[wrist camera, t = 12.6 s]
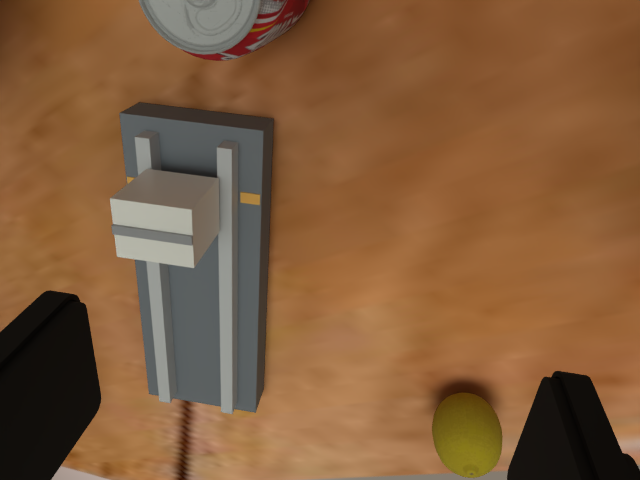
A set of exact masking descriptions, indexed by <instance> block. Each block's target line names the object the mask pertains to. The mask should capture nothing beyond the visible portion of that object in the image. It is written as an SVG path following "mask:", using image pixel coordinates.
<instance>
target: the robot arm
mask: <svg viewBox="0 0 640 480" xmlns="http://www.w3.org/2000/svg"><path fill="white" fill-rule="evenodd" d="M100 403H101V392H100V386H99V380H98V374H97V368H96V362H95V356H94V350H93V344H92V338H91V332H90V326H89V320H88V314H87V308H86V305H85V304H84V303H81V302H80V300H79V298H78V296H77V295H74V294H69V293H63V292H56V291H46V292H44V293H43V294H41V295H40V296H39V297H38V298H37V299H36V300H35V301H34V302H33V303H32V304H31V305H29V306H28V307H27V308H26V309H25V310H24V311H23V312H22V313H21V314H20V315H19V316H17V317H16V318H15V319H14V320H13V321H12V322H11V323H10V324H9V325H8V326H7V327H5V328H4V329H3V330H2V331H1V332H0V480H51V479H52V477H53V476H54V474H55V473H56V472H57V470H58V469H59V467H60V466H61V464H62V463H63V461H64V460H65V458H66V457H67V456H68V454H69V453H70V451H71V450H72V448H73V447H74V445H75V444H76V442H77V441H78V440H79V438H80V437H81V435H82V434H83V432H84V431H85V429H86V428H87V426H88V425H89V423H90V422H91V421H92V419H93V418H94V416H95V415H96V413H97V411H98V409H99V406H100ZM507 480H640V470H639V468H638V466H637V464H636V463H635V461H634V459H633V458H632V457H631V456H629V455H628V454H624V453H622V451H621V449H620V446H619V444H618V441H617V439H616V437H615V434H614V432H613V430H612V427H611V425H610V423H609V420H608V418H607V416H606V413H605V411H604V409H603V406H602V404H601V402H600V399H599V397H598V394H597V392H596V390H595V387H594V385H593V383H592V381H591V379H590V377H588V376H587V375H580V374H574V373H568V372H561V371H555V372H554V373H553V375H552V377H544V378H543V379H542V381H541V383H540V386H539V388H538V391H537V394H536V396H535V399H534V402H533V404H532V407H531V410H530V412H529V415H528V418H527V421H526V423H525V426H524V429H523V431H522V434H521V437H520V439H519V442H518V445H517V447H516V450H515V453H514V455H513V458H512V461H511V463H510V466H509V469H508V475H507Z"/></svg>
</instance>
